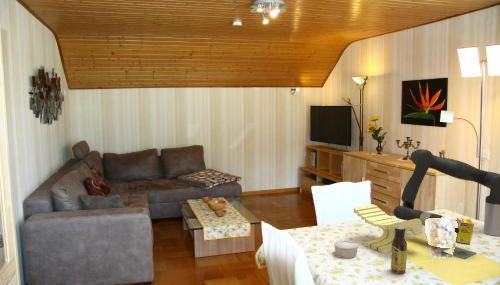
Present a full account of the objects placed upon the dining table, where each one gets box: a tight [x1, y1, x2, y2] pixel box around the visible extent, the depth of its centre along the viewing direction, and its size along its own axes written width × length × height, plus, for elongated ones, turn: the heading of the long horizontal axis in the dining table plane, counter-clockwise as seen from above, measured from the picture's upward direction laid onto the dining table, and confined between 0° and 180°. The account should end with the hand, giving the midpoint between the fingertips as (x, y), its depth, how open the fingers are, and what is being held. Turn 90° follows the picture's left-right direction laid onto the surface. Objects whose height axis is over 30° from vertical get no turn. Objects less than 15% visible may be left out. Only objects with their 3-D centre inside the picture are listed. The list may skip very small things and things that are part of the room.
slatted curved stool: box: [353, 204, 423, 254], centre depth 209 cm, size 30×16×18 cm, turn 27°
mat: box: [452, 246, 477, 260], centre depth 200 cm, size 11×11×1 cm
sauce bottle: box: [390, 226, 408, 274], centre depth 179 cm, size 7×6×20 cm
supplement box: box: [455, 217, 475, 246], centre depth 197 cm, size 6×6×11 cm
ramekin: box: [333, 240, 359, 259], centre depth 200 cm, size 11×11×5 cm
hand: (463, 229), depth 197 cm, fingers closed on supplement box, 8 cm apart
